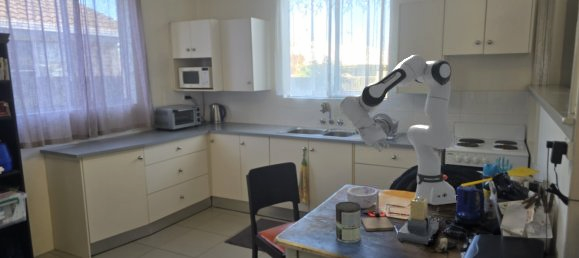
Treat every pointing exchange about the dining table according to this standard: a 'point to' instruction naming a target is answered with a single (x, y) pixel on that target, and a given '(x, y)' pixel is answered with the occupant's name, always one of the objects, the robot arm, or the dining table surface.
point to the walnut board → (377, 224)
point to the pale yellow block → (419, 209)
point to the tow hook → (377, 212)
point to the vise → (418, 229)
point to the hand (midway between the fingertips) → (384, 149)
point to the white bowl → (362, 196)
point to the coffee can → (348, 222)
